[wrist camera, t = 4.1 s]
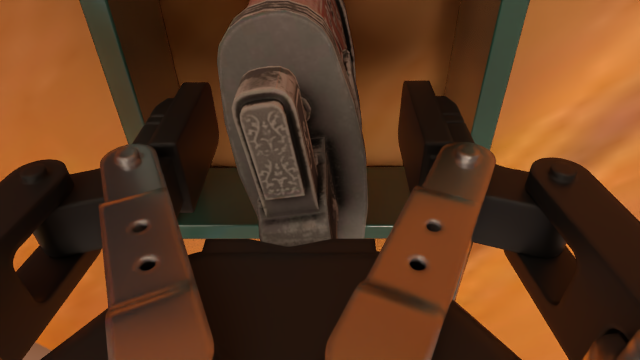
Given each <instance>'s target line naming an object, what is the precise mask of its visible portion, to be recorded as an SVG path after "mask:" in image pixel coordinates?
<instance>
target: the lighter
mask: <svg viewBox="0 0 640 360" xmlns="http://www.w3.org/2000/svg"><path fill="white" fill-rule="evenodd" d="M217 66H218V74H219V82H220V89H221V97H222V105H223V112H224V120H225V125H226V129H227V132H228V136H229V140H230V144H231V147H232V151H233V155H234V159H235V162H236V166H237V170H238V174H239V176H240V178H241V181H242V183H243V185H244V187H245V190H246V192H247V194H248V196H249V199H250V201H251V203H252V205H253V207H254V210H255V212H256V214H257V216H258V221H259V237H260V241H261V242H266V243H271V244H276V245H281V246H287V247H291V246H297V245H302V244H308V243H313V242H318V241H323V240H328V239H364V235H365V226H366V218H367V209H368V193H367V169H366V153H365V145H364V139H363V134H362V122H361V111H360V103H359V95H358V91H357V86H356V76H355V56H354V47H353V42H352V37H351V33H350V28H349V23H348V18H347V13H346V8H345V4H344V1H343V0H250V2H249V4H248V6H247V8H246V9H244V10H243V11H242V12H241V13H239V14H238V15H237V16H236V17H235V18H233V20H232V22H231V24H230V25H229V27H228V29H227V31H226V33H225V34H224V36H223V38H222V40H221V42H220V44H219V47H218V57H217Z"/></svg>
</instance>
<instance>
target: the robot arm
mask: <svg viewBox="0 0 640 360" xmlns="http://www.w3.org/2000/svg"><path fill="white" fill-rule="evenodd" d="M218 139H219V130H218V123H217V118H216V113H215V107H214V102H213V96H212V91H211V87H210V85H209V83H208V82H184V83H183V84H182V85H181V87H180V89H179V91H178V92H177V94H176V96H175V97H174V98H167V99H166V100H164V101H163V102H161V103H160V104H158V105H157V106H156V107H155V108H154V110H153V111H152V113H151V115H150V117H149V118H148V119H147V121H146V123H145V125H144V126H143V127H142V129H141V130H140V132H139V134H138V135H137V137H136V138H135V140H134V142H133V143H132V144H129V145H125V146H121V147H118V148H116V149H114V150H112V151H110V152H109V153H107V154H106V155H105V156H104V157H103V158H102V160H101V162H100V168H99V169H95V170H90V171H85V172H80V173H75V174H69V172H68V170H67V168H66V166H65V164H64V163H63V162H61V161H58V160H49V159H48V160H40V161H35V162H32V163H28V164H26V165H23V166H21V167H19V168H18V169H16V170H14V171H13V172H12V173H10V174H9V175H8V176H7V177H6V178H5V179H3V180H2V181H1V182H0V360H22V359H23V358H24V356H25V355H26V353H27V352H28V351H29V350H30V348H31V347H32V345H33V344H34V343H35V341H36V340H37V339H38V337H39V336H40V334H41V333H42V332H43V330H44V329H45V328H46V326H47V325H48V324H49V322H50V321H51V319H52V318H53V317H54V315H55V314H56V313H57V311H58V310H59V308H60V307H61V306H62V304H63V303H64V302H65V300H66V299H67V298H68V296H69V295H70V293H71V292H72V291H73V289H74V288H75V287H76V285H77V284H78V282H79V281H80V280H81V278H82V277H83V276H84V274H85V273H86V272H87V270H88V269H89V267H90V266H91V265H92V263H93V262H94V261H95V259H96V258H97V256H98V255H99V253H100V251H101V249H102V248H103V258H104V268H105V278H106V288H107V298H108V309H106V310H105V311H104V312H102V313H101V314H100V315H98V316H97V317H96V318H94V319H93V320H92V321H91V322H89V323H88V324H87V325H85V326H84V327H83V328H81V329H80V330H79V331H77V332H76V333H75V334H73V335H72V336H71V337H70V338H68V339H67V340H66V341H64V342H63V343H62V344H60V345H59V346H58V347H56V348H55V349H54V350H52V351H51V352H50V353H48V354H47V355H46V356H45V357H43V358H42V359H41V360H522V359H520V358H519V357H518V356H517V355H516V354H515V353H514V352H512V351H511V350H510V349H509V348H508V347H507V346H506V345H504V344H503V343H502V342H501V341H500V340H499V339H498V338H496V337H495V336H494V335H493V334H492V333H491V332H490V331H488V330H487V329H486V328H485V327H484V326H483V325H482V324H480V323H479V322H478V321H477V320H476V319H475V318H474V317H472V316H471V315H470V314H469V313H468V312H467V311H466V310H464V309H463V308H462V307H461V306H460V305H459V304H458V303H456V302H455V300H456V296H457V293H458V290H459V287H460V283H461V280H462V277H463V274H464V271H465V267H466V264H467V261H468V258H469V255H470V251H471V248H472V245H473V242H475V243H479V244H483V245H487V246H491V247H496V248H500V249H504V253H505V255H506V257H507V258H508V260H509V262H510V263H511V265H512V267H513V268H514V270H515V271H516V273H517V275H518V276H519V278H520V280H521V281H522V283H523V285H524V286H525V288H526V290H527V291H528V293H529V294H530V296H531V298H532V299H533V301H534V303H535V304H536V306H537V308H538V309H539V311H540V313H541V314H542V316H543V317H544V319H545V321H546V322H547V324H548V326H549V327H550V329H551V331H552V332H553V334H554V336H555V337H556V339H557V340H558V342H559V344H560V345H561V347H562V349H563V350H564V352H565V354H566V355H567V357H568V359H569V360H640V222H639V221H638V220H637V219H636V218H635V217H634V216H633V215H632V214H631V213H630V212H629V211H628V210H627V209H626V208H625V207H624V206H623V205H622V204H621V203H620V202H619V201H618V200H617V199H616V198H615V197H614V196H613V195H612V194H611V193H610V192H609V191H608V190H607V189H606V188H605V187H604V186H603V185H602V184H601V183H600V182H599V181H598V180H597V179H596V178H595V177H594V176H593V175H592V174H591V173H590V172H589V171H588V170H587V169H585V168H584V167H582V166H581V165H579V164H577V163H574V162H572V161H569V160H565V159H561V158H542V159H539V160H537V161H535V162H534V163H533V164H532V166H531V169H530V172H526V171H521V170H515V169H510V168H506V167H502V166H499V165H497V164H496V159H495V156H494V155H493V153H492V152H491V151H489V150H488V149H487V148H485V147H483V146H481V145H478V144H475V142H474V140H473V138H472V136H471V134H470V132H469V130H468V128H467V126H466V123H464V119H463V117H462V115H461V113H460V111H459V109H458V107H457V104H455V103H454V102H453V101H452V100H450V99H449V98H448V97H446V96H435V94H434V91H433V89H432V86H431V84H430V82H429V81H404V84H403V89H402V98H401V108H400V117H399V127H398V140H399V147H400V151H401V155H402V160H403V164H404V169H405V173H406V177H407V182H408V186H409V191H410V196H409V198H408V200H407V202H406V203H405V205H404V207H403V209H402V211H401V213H400V215H399V217H398V219H397V221H396V222H395V224H394V226H393V228H392V230H391V232H390V234H389V236H388V238H387V240H386V242H385V243H384V245H383V247H382V249H381V251H380V252H378V251H376V246H375V239H328V240H323V241H318V242H313V243H308V244H302V245H297V246H291V247H287V246H281V245H276V244H271V243H266V242H261V241H256V240H251V239H206V240H205V243H204V247H203V250H202V252H197V253H194V254H190V255H188V254H187V251H186V248H185V245H184V241H183V238H182V235H181V231H180V228H179V225H178V222H177V218H178V215H179V213H194V210H195V207H196V205H197V202H198V199H199V196H200V193H201V190H202V188H203V185H204V182H205V179H206V176H207V174H208V171H209V168H210V165H211V162H212V160H213V157H214V154H215V151H216V148H217V145H218ZM32 233H33V234H34V236H35V238H36V239H37V241H38V243H39V245H40V246H39V247H38V248H37V249H36V250H35V251H34V252H33V253H32V254H31V256H30V257H29V258H28V259H27V260H26V261H25V262H24V263H23V265H22V266H21V267H20V268H19V269H18V270H17V271H16V272H15V270H14V267H13V259H14V255H15V253H16V251H17V250H18V249H19V247H20V246H21V245H22V244H23V243H24V242H25V241H26V240H27V239H28V238H29V237H30V236H31V234H32ZM566 243H567V244H568V245H569V246H570V248H571V249H572V251H573V252H574V255H575V257H576V259H575V257H574V256H573V255H572V253H571V252H570V251H569V250H568V248H567V247H566V246H565V245H566Z"/></svg>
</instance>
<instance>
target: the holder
mask: <svg viewBox="0 0 640 360" xmlns="http://www.w3.org/2000/svg"><path fill="white" fill-rule="evenodd" d="M79 1H80V4H81V7H82V10H83V13H84V15H85V18H86V21H87V24H88V27H89V30H90V33H91V36H92V39H93V42H94V45H95V48H96V51H97V53H98V56H99V59H100V62H101V65H102V68H103V71H104V74H105V77H106V80H107V83H108V86H109V89H110V92H111V94H112V97H113V100H114V103H115V106H116V109H117V112H118V115H119V118H120V121H121V124H122V127H123V130H124V133H125V135H126V138H127V141H128V144H132V143H133V142H134V140H135V138H136V137H137V135H138V134H139V132H140V130H141V129H142V127H143V126H144V125H145V123H146V121H147V119H148V118H149V117H150V115H151V113H152V111H153V110H154V108H155V107H156V106H157V105H158V104H160V103H161V102H163V101H164V100H166V99H167V98H174V97H175V96H176V94H177V92H178V91H179V85H178V81H177V76H176V72H175V68H174V64H173V59H172V55H171V51H170V47H169V42H168V38H167V34H166V30H165V25H164V21H163V17H162V13H161V8H160V4H159V0H79ZM529 2H530V0H461V1H460V7H459V13H458V19H457V24H456V30H455V36H454V42H453V47H452V53H451V59H450V65H449V71H448V76H447V82H446V88H445V94H444V96H446V97H448V98H449V99H450V100H452V101H453V102H454V103H455V104H457V107H458V109H459V111H460V113H461V115H462V117H463V119H464V123H466V126H467V128H468V130H469V132H470V134H471V136H472V138H473V140H474V142H475V144H478V145H481V146H483V147H485V148H487V149H488V150H489V151H490V148H491V144H492V140H493V137H494V133H495V129H496V125H497V122H498V118H499V114H500V110H501V107H502V103H503V99H504V95H505V92H506V88H507V84H508V80H509V77H510V73H511V69H512V65H513V62H514V58H515V54H516V50H517V47H518V43H519V39H520V35H521V32H522V28H523V24H524V20H525V17H526V13H527V9H528V5H529ZM366 169H367V193H368V209H367V218H366V226H365V235H364V239H387V238H388V236H389V234H390V232H391V230H392V228H393V226H394V224H395V222H396V221H397V219H398V217H399V215H400V213H401V211H402V209H403V207H404V205H405V203H406V202H407V200H408V198H409V196H410V191H409V186H408V182H407V177H406V173H405V169H404V167H366ZM177 222H178V225H179V228H180V231H181V235H182V238H183V239H260V237H259V221H258V216H257V214H256V212H255V210H254V207H253V205H252V203H251V201H250V199H249V196H248V194H247V192H246V190H245V187H244V185H243V183H242V181H241V178H240V176H239V174H238V170H237V167H231V168H209V171H208V174H207V176H206V179H205V182H204V185H203V188H202V190H201V193H200V196H199V199H198V202H197V205H196V207H195V210H194V213H179V215H178V218H177Z"/></svg>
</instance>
